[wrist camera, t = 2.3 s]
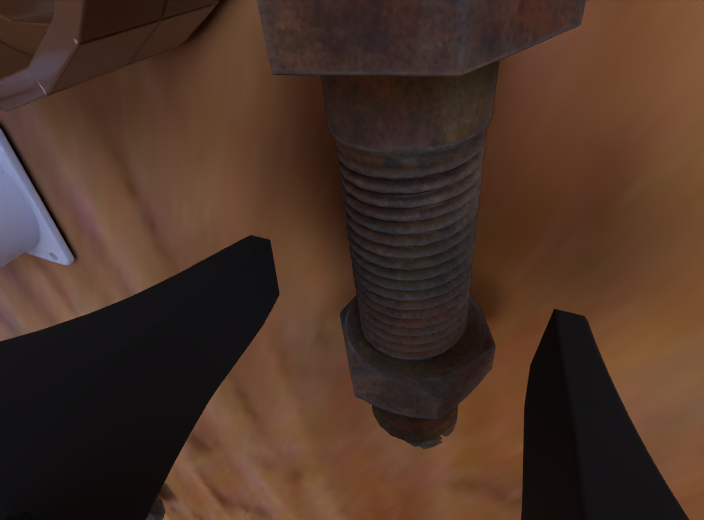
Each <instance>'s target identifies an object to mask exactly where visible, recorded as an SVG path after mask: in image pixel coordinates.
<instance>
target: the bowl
mask: <svg viewBox="0 0 704 520" xmlns="http://www.w3.org/2000/svg"><path fill="white" fill-rule="evenodd" d="M218 2H219V0H0V110H1V111H9V110H12V109H14V108H17V107H20V106H22V105H25V104H28V103H30V102H33V101H36V100H38V99H41V98H44V97H46V96H49V95H52V94H54V93H57V92H59V91H62V90H65V89H67V88H70V87H73V86H75V85H78V84H81V83H83V82H86V81H88V80H91V79H94V78H96V77H99V76H102V75H104V74H107V73H110V72H112V71H115V70H117V69H120V68H123V67H125V66H128V65H131V64H133V63H136V62H138V61H141V60H144V59H146V58H149V57H152V56H154V55H157V54H160V53H162V52H165V51H167V50H170V49H173V48H175V47H178V46H180V45H181V44H183V43H184V42H185V41H186V40H187V39H188V37H189V36H190V35H191V34H192V33H193V32H194V30H195V29H196V28H197V27H198V26H199V25H200V24H201V22H202V21H203V20H204V19H205V18H206V17H207V16H208V14H209V13H210V12H211V11H212V10H213V9H214V8H215V6H216V5H217V3H218Z"/></svg>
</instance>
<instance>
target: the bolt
mask: <svg viewBox="0 0 704 520" xmlns="http://www.w3.org/2000/svg"><path fill="white" fill-rule="evenodd" d="M585 2H586V0H257V3H258V8H259V13H260V18H261V22H262V27H263V32H264V37H265V41H266V46H267V51H268V55H269V60H270V65H271V70H272V73H273V74H275V75H320V76H321V82H322V88H323V95H324V101H325V107H326V114H327V120H328V126H329V130H330V132H331V134H332V135H333V136H334V138H335V143H336V144H337V146H336V151H337V156H338V167H339V169H340V181H341V182H342V192H343V197H344V198H343V201H344V207H345V218H346V228H347V231H348V240H349V243H350V244H349V248H350V252H351V259H352V268H353V275H354V279H355V281H354V282H355V288H356V296H355V297H354V298H353V299H352V300H351V301H350V302H349V303H348V304H347V305H346V307H345V308H344V309H343V310H342V311H341V312H340V318H341V324H342V329H343V334H344V340H345V345H346V351H347V356H348V362H349V367H350V372H351V378H352V383H353V388H354V394H355V396H356V397H358V398H360V399H362V400H364V401H366V402H368V403H370V404H372V410H373V413H374V416H375V418H376V420H377V421H378V423H379V425H380V426H381V427H382V428H383V429H385V430H386V431H387V432H388V433H389V434H390V435H392V436H394V437H397V438H399V439H402V440H404V441H406V442H408V443H409V444H411V445H413V446H414V447H417V446H420V447H421V448H423V449H427V448H431V447H434V446H436V445H438V444H440V443H442V442H441V441H440V439H442V438H441V437H440V435H443V436H448V435H449V434H450V433H451V432H452V431H453V429H454V427H455V424H456V421H457V413H458V404H459V403H460V402H461V401H463V400H464V399H465V398H466V397H467V396H468V395H469V394H470V393H471V392H472V391H473V390H474V389H475V388H476V387H477V386H478V385H479V383H480V382H481V381H482V380H483V379H484V377H485V376H486V375H487V374H488V372H489V371H490V370H491V369H492V363H493V358H494V352H495V343H494V341H493V338H492V335H491V332H490V329H489V327H488V324H487V322H486V320H485V318H484V315H483V313H482V311H481V309H480V307H479V305H478V304H477V303H476V301H475V300H474V298H473V297H472V296H471V295H470V293H469V292H470V284H471V268H472V258H473V251H474V243H475V232H476V220H477V216H478V215H477V209H478V205H479V202H478V199H479V196H480V185H481V180H482V177H481V170H482V159H483V155H484V151H485V149H484V146H483V145H484V143H485V137H486V130H487V127H488V125H489V123H490V122H491V120H492V114H493V106H494V98H495V90H496V82H497V74H498V65H499V60H501V59H503V58H506V57H508V56H510V55H512V54H515V53H517V52H519V51H522V50H524V49H526V48H529V47H531V46H533V45H536V44H538V43H540V42H543V41H545V40H547V39H550V38H552V37H554V36H557V35H559V34H561V33H564V32H566V31H568V30H571V29H573V28H575V27H577V26H579V25H580V24H581V21H582V16H583V11H584V7H585Z"/></svg>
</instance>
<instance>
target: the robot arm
mask: <svg viewBox="0 0 704 520" xmlns="http://www.w3.org/2000/svg"><path fill="white" fill-rule="evenodd" d="M23 253H27V254H30V255H33V256H36V257H40V258H43V259H46V260H49V261H53V262H56V263H59V264H62V265H70V264H71V263H72V262H74V257H73V255H72V253H71V251H70V250H69V248H68V246H67V244H66V242H65V241H64V239H63V237H62V235H61V234H60V232H59V230H58V228H57V227H56V225H55V223H54V221H53V220H52V218H51V216H50V214H49V212H48V211H47V209H46V207H45V205H44V204H43V202H42V200H41V198H40V197H39V195H38V193H37V191H36V189H35V188H34V186H33V184H32V182H31V181H30V179H29V177H28V175H27V174H26V172H25V170H24V168H23V166H22V165H21V163H20V161H19V159H18V158H17V156H16V154H15V152H14V151H13V149H12V147H11V145H10V144H9V142H8V140H7V138H6V136H5V135H4V133H3V131H2V130H1V128H0V268H1V267H3V266H4V265H6V264H7V263H9V262H10V261H12V260H13V259H15V258H16V257H18V256H20V255H21V254H23ZM278 296H279V288H278V282H277V277H276V271H275V265H274V259H273V253H272V248H271V242H270V240H269V239H264V238H260V237H256V236H252V235H250V236H248V237H246V238H244V239H242V240H240V241H238V242H236V243H234V244H232V245H230V246H229V247H227V248H225V249H223V250H221V251H219V252H218V253H216V254H214V255H212V256H210V257H208V258H207V259H205V260H203V261H201V262H199V263H197V264H195V265H193V266H192V267H190V268H188V269H186V270H184V271H182V272H180V273H179V274H177V275H175V276H173V277H170V278H168V279H166V280H164V281H162V282H160V283H158V284H156V285H154V286H152V287H150V288H148V289H146V290H144V291H142V292H140V293H138V294H135V295H133V296H131V297H129V298H126V299H124V300H122V301H119V302H117V303H115V304H112V305H110V306H107V307H105V308H102V309H100V310H97V311H95V312H92V313H89V314H87V315H84V316H81V317H78V318H75V319H72V320H69V321H66V322H63V323H60V324H57V325H54V326H51V327H48V328H45V329H42V330H39V331H36V332H32V333H29V334H25V335H22V336H18V337H15V338H11V339H7V340H4V341H0V520H146V519H147V517H148V515H149V512H150V510H151V508H152V506H153V504H154V502H155V500H156V498H157V496H158V494H159V492H160V490H161V488H162V486H163V484H164V482H165V480H166V478H167V476H168V474H169V472H170V470H171V468H172V466H173V464H174V462H175V460H176V459H177V457H178V455H179V453H180V451H181V449H182V447H183V446H184V444H185V442H186V440H187V438H188V436H189V435H190V433H191V431H192V429H193V428H194V426H195V424H196V422H197V421H198V419H199V417H200V416H201V414H202V412H203V410H204V409H205V407H206V405H207V404H208V402H209V400H210V399H211V397H212V396H213V394H214V393H215V391H216V390H217V388H218V387H219V386H220V384H221V383H222V381H223V380H224V379H225V377H226V376H227V375H228V373H229V372H230V370H231V369H232V368H233V366H234V365H235V364H236V362H237V361H238V359H239V358H240V357H241V355H242V354H243V353H244V351H245V350H246V348H247V347H248V346H249V344H250V343H251V341H252V340H253V339H254V337H255V336H256V334H257V333H258V332H259V330H260V329H261V327H262V326H263V324H264V323H265V321H266V319H267V317H268V315H269V314H270V312H271V310H272V308H273V306H274V304H275V302H276V300H277V298H278ZM521 520H689V519H688V517H687V515H686V514H685V512H684V511H683V509H682V508H681V506H680V504H679V503H678V501H677V500H676V498H675V496H674V495H673V493H672V492H671V490H670V489H669V487H668V485H667V484H666V482H665V480H664V479H663V477H662V475H661V474H660V472H659V470H658V468H657V467H656V465H655V463H654V462H653V460H652V458H651V456H650V454H649V453H648V451H647V449H646V447H645V445H644V444H643V442H642V440H641V438H640V436H639V434H638V433H637V431H636V429H635V427H634V425H633V423H632V421H631V419H630V417H629V415H628V413H627V411H626V409H625V407H624V405H623V403H622V401H621V399H620V397H619V395H618V392H617V390H616V388H615V386H614V384H613V382H612V380H611V377H610V375H609V373H608V371H607V368H606V366H605V364H604V361H603V359H602V357H601V354H600V352H599V349H598V347H597V344H596V342H595V339H594V337H593V334H592V331H591V329H590V326H589V323H588V321H587V319H586V318H585V316H582V315H578V314H574V313H569V312H565V311H561V310H557V309H554V311H553V313H552V316H551V318H550V320H549V323H548V325H547V327H546V330H545V332H544V334H543V337H542V339H541V341H540V344H539V346H538V349H537V351H536V353H535V356H534V358H533V360H532V363H531V365H530V372H529V378H528V385H527V392H526V399H525V408H524V446H523V492H522V514H521Z"/></svg>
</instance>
